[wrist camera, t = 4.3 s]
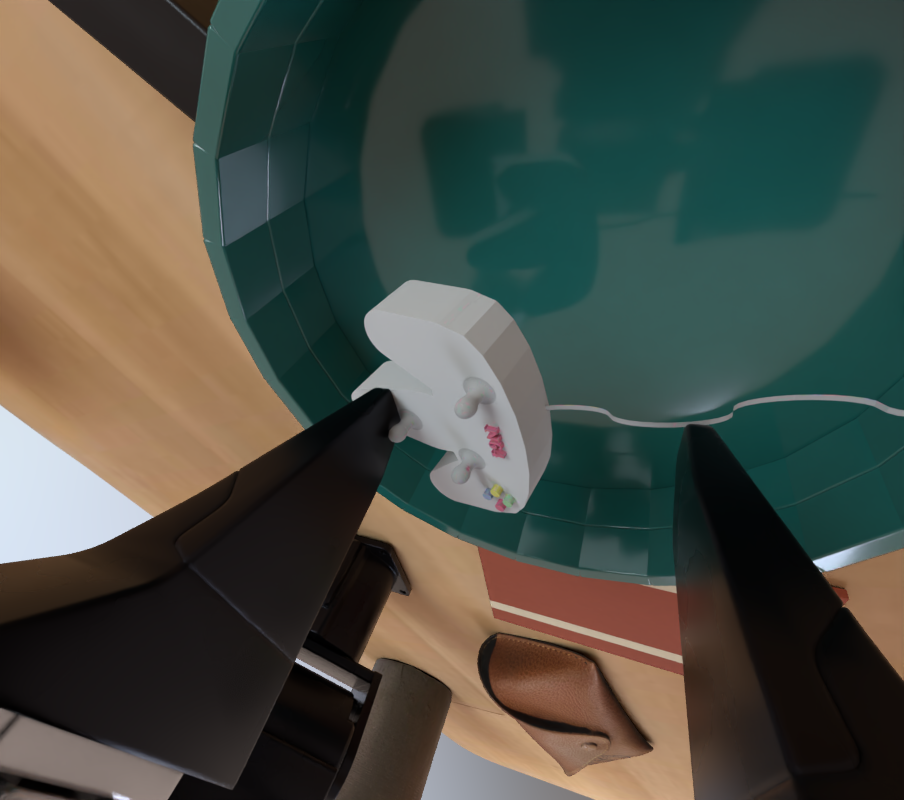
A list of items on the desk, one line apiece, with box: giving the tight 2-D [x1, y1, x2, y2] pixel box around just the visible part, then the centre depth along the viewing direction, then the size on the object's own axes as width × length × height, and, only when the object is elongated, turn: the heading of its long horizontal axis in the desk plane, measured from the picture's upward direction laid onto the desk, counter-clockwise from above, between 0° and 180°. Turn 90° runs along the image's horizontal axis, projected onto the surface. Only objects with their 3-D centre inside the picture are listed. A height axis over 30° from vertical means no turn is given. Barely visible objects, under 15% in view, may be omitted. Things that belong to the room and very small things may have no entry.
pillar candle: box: [335, 658, 452, 800], centre depth 46 cm, size 10×10×15 cm
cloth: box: [478, 547, 849, 676], centre depth 23 cm, size 12×15×1 cm
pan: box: [193, 0, 904, 586], centre depth 11 cm, size 18×18×4 cm
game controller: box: [352, 280, 904, 513], centre depth 8 cm, size 6×12×3 cm, turn 125°
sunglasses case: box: [477, 633, 653, 776], centre depth 34 cm, size 18×7×7 cm, turn 31°
